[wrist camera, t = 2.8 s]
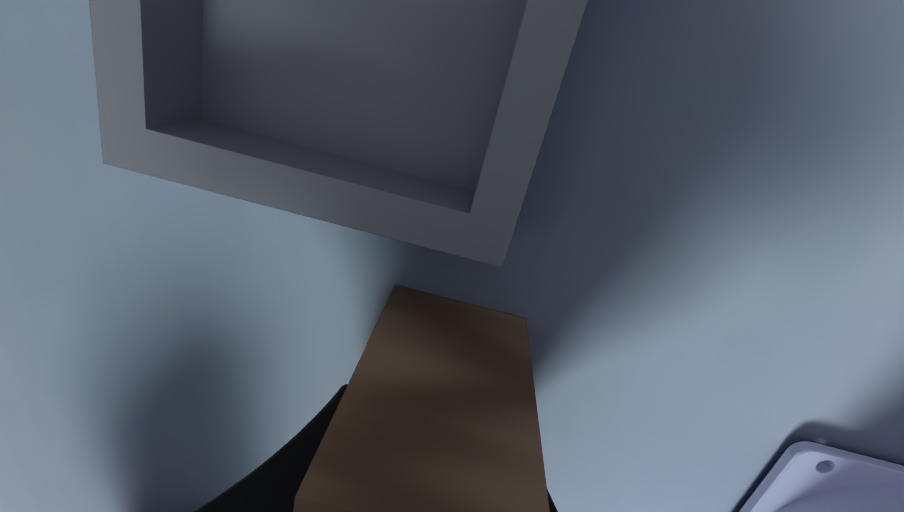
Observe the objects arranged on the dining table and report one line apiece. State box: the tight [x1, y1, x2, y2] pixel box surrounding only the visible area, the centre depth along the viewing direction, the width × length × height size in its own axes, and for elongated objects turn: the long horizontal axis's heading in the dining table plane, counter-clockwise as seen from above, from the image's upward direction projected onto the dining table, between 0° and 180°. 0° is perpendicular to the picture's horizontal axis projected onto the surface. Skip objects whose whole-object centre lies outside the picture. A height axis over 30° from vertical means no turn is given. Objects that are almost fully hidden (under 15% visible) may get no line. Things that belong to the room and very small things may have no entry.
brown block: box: [293, 285, 550, 512], centre depth 11 cm, size 4×7×7 cm, turn 166°
